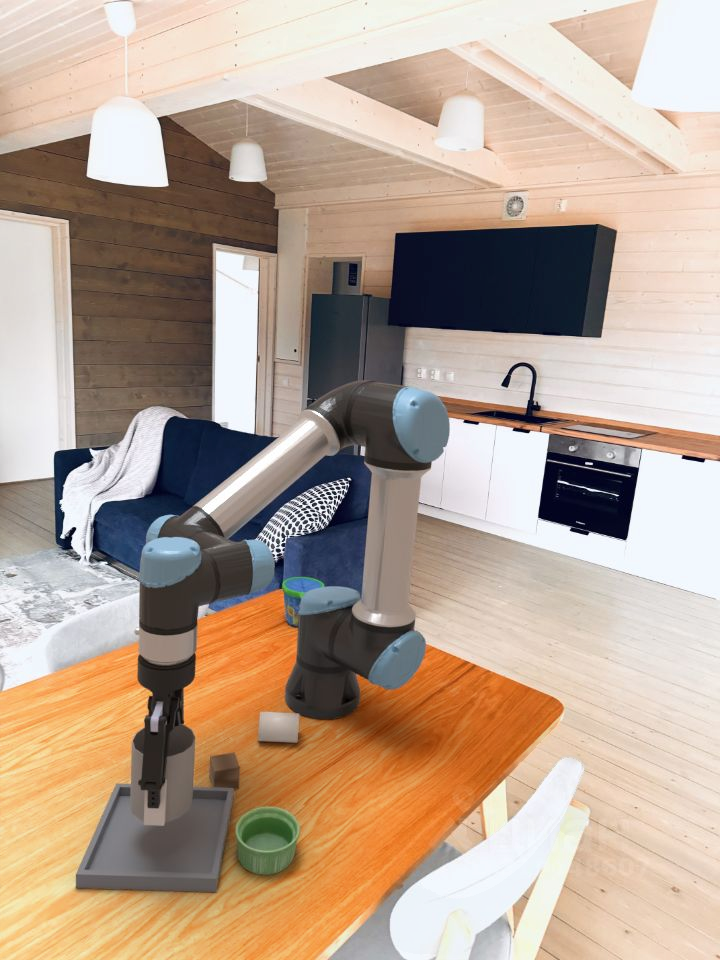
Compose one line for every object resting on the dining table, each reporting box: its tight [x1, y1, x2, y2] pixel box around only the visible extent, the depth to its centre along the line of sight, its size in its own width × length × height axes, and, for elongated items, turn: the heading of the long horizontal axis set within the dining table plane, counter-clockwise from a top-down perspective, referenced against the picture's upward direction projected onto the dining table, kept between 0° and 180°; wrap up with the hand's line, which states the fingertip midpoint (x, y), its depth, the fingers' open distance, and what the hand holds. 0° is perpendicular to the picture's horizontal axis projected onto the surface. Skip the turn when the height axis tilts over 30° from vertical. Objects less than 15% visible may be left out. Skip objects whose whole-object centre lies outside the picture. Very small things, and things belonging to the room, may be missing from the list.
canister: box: [257, 711, 300, 744], centre depth 124 cm, size 7×5×5 cm
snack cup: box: [281, 576, 326, 628], centre depth 173 cm, size 16×10×10 cm
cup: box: [130, 724, 196, 822], centre depth 96 cm, size 8×8×10 cm
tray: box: [75, 782, 235, 893], centre depth 98 cm, size 18×18×2 cm
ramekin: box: [234, 806, 301, 876], centre depth 97 cm, size 9×9×4 cm
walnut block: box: [208, 751, 241, 790], centre depth 111 cm, size 4×4×4 cm
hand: (162, 800), depth 97 cm, fingers closed on cup, 8 cm apart
